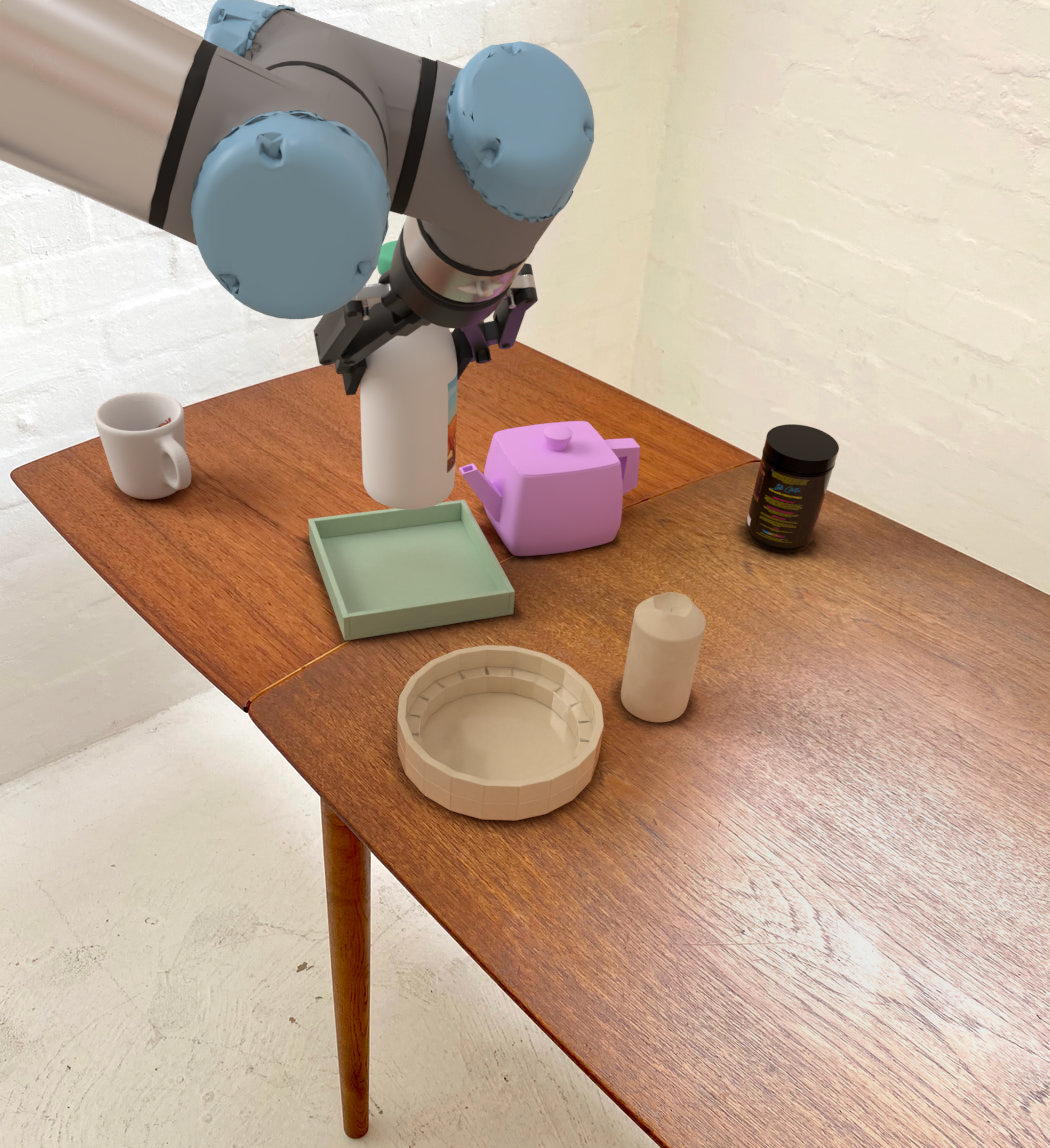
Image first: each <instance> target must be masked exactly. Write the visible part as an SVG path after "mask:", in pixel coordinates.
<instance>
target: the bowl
mask: <svg viewBox="0 0 1050 1148" xmlns="http://www.w3.org/2000/svg"><path fill="white" fill-rule="evenodd" d="M603 715H604V713H603V705H602V702H601V700H600V699H599V697H598V695H597V693H596V691H595V690H594V689H593V686H592V685H591V683H590V682H589V681H588V680H587V679H585V678H584V677H583V676H582V675H581V674H580V673H578V672H577V671H576V670H575V669H574V668H573V667H572V666H570V665H569V664H567V663H565V662H563V661H561V660H559V659H557V658H555V657H553V656H551V655H549V654H547V653H544V652H541V651H536V650H532V649H528V648H525V647H520V646H516V645H496V644H495V645H494V644H483V645H476V646H472V647H466V648H460V649H455V650H453V651H451V652H448V653H445V654H443V655H441V656H438V657H436V658H433V659H431V660H430V661H428V662H427V663H426V664H424V665H423V666H422V667H421V668H419V670H418V671H416V672H415V673H414V674H412V675H411V676H410V677H409V679H408V681H407V682H406V684H405V686H404V688H403V690H402V691H401V693H400V694H399V697H398V706H397V716H396V717H397V718H396V721H397V722H396V727H397V728H396V729H397V730H396V731H397V732H396V734H397V739H396V741H397V755H398V757H399V760H400V763H401V766H402V769H403V771H404V773H405V775H406V777H407V778H408V780H410V781H411V783H412V784H413V785H414V786H415V788H417V789H418V790H419V792H420V793H421V794H422V795H424V796H425V797H427V798H428V799H429V800H431V801H433V802H435V803H436V804H438V805H440V806H442V807H443V808H445V809H447V810H448V811H450V812H455V813H457V814H461V815H465V816H468V817H472V818H474V819H479V820H484V821H485V820H487V821H489V820H490V821H520V820H524V819H530V818H534V817H539V816H542V815H547V814H550V813H552V812H553V811H554V810H556V809H558V808H560V807H562V806H564V805H566V804H568V803H570V802H572V801H573V800H575V799H576V797H577V796H578V795H579V794H580V793H581V792H582V791H583V790H584V789H585V788H586V787H587V786H588V785H589V783H591V781H592V778H593V776H594V773H595V770H596V768H597V764H598V762H599V757H600V752H601V747H602V739H603V733H604V727H605V724H604V723H605V722H604V716H603Z"/></svg>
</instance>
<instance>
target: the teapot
mask: <svg viewBox="0 0 1050 1148" xmlns="http://www.w3.org/2000/svg"><path fill="white" fill-rule="evenodd" d="M640 454H641V446H640V444H638V442H637V441H636V440H635V438H633V437H625V438H612V439H611V438H608V439H604V438H603V437H602V436H601V434H600V433H599V432H598V431H597V430H596V429H595V428H594V427H593V426H592V424H591V423H590V422H589V421H586V420H570V421H559V422H548V423H547V422H546V423H538V424H531V425H525V426H517V427H512V428H511V427H510V428H507V429H502V430H499V431H496V432H494V433H493V436H492V439H491V441H490V446H489V449H488V453H487V456H486V460H485V464H484V471H483V473H482V472H481V471H480V470H479V469H478V468H477V466H476V465H475V463H473V462H472V463H469V464H466V465H463V466H460V467H458V471H459V473H460V474H461V476H462V478H463V479H464V480H465V481H466V483H467V484H468V486H469V487H470V488H471V489H472V491H473V492H474V494H475V495H476V496H477V498H478V499H479V501H480V502H481V503H482V505H483V508H484V511H485V513H486V515H487V518H488V520H489V521H490V523H491V525H492V526H493V528H494V530H495V532H496V533H497V535H498V537H499V538H500V540H501V541H502V543H503V544H504V546H505V547H506V548H507V550H508V551H509V553H510V554H512V555H513V556H516V557H535V556H544V555H545V556H546V555H553V554H554V555H555V554H563V553H568V552H574V551H579V550H584V549H589V548H592V547H598V546H602V545H605V544H608V543H611V542H613V541H614V540H615V539H616V536H617V535H618V532H619V529H620V527H621V523H622V515H623V501H624V499H623V497H624V495H625V494H627V493H629V492H631V491H632V490H634V489H635V488H637V487H638V485H639V484H638V483H639V470H640V456H641V455H640Z"/></svg>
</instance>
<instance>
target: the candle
mask: <svg viewBox="0 0 1050 1148" xmlns="http://www.w3.org/2000/svg"><path fill="white" fill-rule="evenodd" d="M706 626H707V620H706V617H705V615H704V613H703V611H702V610H701V609H700V608H699V607H698V606H697V605H696V604H695V603H694V602H693V601H692V600H691V598H690V597H689V596H688V595H686V594H684V593H680V592H676V591H667V592H664V593H662V594H655V595H653V596H651V597H649V598H646V599H644V600H643V601H641V602H639V604H637V606H636V607H635V609H634V614H633V620H632V625H631V630H630V635H629V642H628V646H627V647H628V649H627V654H626V658H625V660H626V661H625V665H624V670H623V675H622V682H621V689H620V701H621V703H622V706H623V707H624V708H625V710H626V711H627V712H628V713H630V714H631V715H632V716H633V717H636V718H637V719H640V720H643V721H646V722H651V723H667V722H671V721H674V720H676V719H678V718H680V717H681V716H682V715H683V714H684V713H685V711H686V709H687V707H688V704H689V700H690V696H691V692H692V687H693V683H694V678H695V674H696V670H697V666H698V662H699V657H700V653H701V649H702V644H703V639H704V636H705V630H706Z"/></svg>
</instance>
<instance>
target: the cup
mask: <svg viewBox="0 0 1050 1148" xmlns="http://www.w3.org/2000/svg"><path fill="white" fill-rule="evenodd" d="M185 417H186V415H185V410H184V407H183V406H182V404H181V403H180V402H179V401H178V400H177V399H175V398H173V397H171V396H169V395H166V394H162V393H158V392H152V391H151V392H150V391H137V392H129V393H124V394H119V395H116V396H114V397H111V398H109V399H107V400H105V401H104V402H103V403H101V404H100V405H98V407H97V408H96V410H95V411H94V422H95V426H96V429H97V431H98V435H99V438H100V441H101V444H102V447H103V450H104V453H105V456H106V459H107V463H108V465H109V469H110V471H111V472H110V473H111V474H112V477H113V479H114V481H115V484H116V485H117V488H119V490H120V491H121V492H122V493H124V494H126V495H127V496H128V497H132V498H135V499H140V500H156V499H162V498H165V497H169V496H171V495H173V494H174V493H176V492H178V491H180V490H184V489H187V488H188V487H189V486H190V484H191V483H192V466H191V463H190V459H189V456H188V454H187V451H186V424H185V423H186V420H185V419H186V418H185Z"/></svg>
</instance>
